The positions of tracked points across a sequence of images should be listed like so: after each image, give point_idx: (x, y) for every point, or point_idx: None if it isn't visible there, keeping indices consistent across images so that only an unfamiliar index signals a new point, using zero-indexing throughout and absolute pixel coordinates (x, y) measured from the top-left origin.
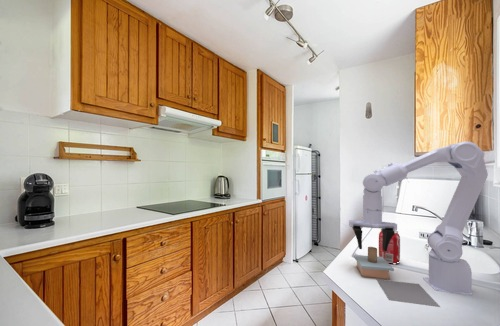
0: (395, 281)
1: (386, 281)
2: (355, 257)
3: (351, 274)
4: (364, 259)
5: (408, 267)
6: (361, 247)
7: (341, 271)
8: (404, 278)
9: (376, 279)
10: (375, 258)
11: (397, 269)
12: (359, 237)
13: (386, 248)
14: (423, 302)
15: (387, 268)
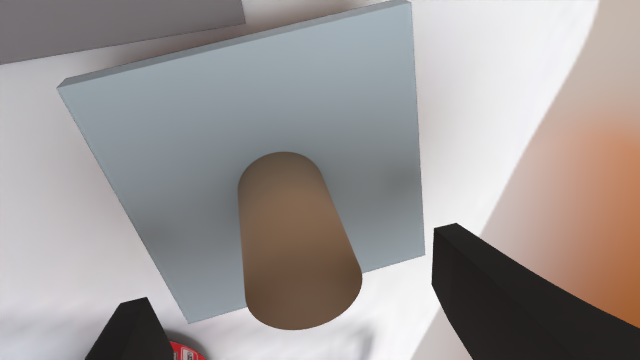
0: (77, 43)
1: (156, 8)
2: (421, 209)
3: (428, 50)
4: (351, 194)
5: (17, 355)
6: (452, 236)
7: (492, 72)
8: (18, 167)
9: (242, 13)
10: (258, 184)
11: (87, 293)
12: (608, 335)
13: (110, 330)
14: None
15: (128, 68)
